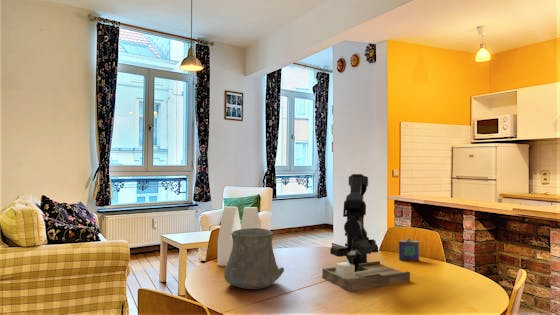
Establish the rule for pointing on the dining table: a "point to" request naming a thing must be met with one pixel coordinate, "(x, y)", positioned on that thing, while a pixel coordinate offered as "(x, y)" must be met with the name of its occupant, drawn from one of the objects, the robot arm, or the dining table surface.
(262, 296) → the dining table surface
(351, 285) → the box
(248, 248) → the vessel
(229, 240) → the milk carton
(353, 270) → the block
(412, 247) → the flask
